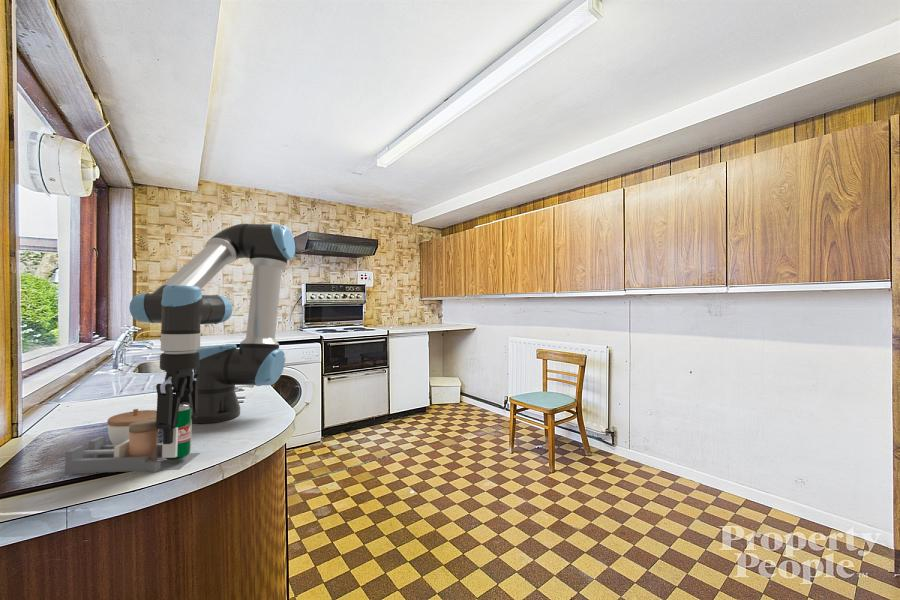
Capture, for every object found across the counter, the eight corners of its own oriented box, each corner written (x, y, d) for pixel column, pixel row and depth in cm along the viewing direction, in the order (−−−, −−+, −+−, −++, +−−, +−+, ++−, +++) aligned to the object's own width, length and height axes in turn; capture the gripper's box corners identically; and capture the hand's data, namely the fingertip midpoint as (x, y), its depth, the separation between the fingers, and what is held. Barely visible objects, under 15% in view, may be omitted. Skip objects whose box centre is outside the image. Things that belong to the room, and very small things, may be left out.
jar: (137, 457, 89) (139, 419, 90) (163, 457, 90) (164, 419, 90) (121, 467, 84) (123, 426, 84) (148, 466, 85) (150, 426, 85)
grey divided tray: (102, 455, 91) (103, 434, 91) (203, 452, 94) (203, 432, 94) (60, 477, 80) (61, 453, 80) (176, 473, 83) (177, 450, 83)
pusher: (85, 457, 88) (85, 438, 88) (137, 455, 90) (138, 436, 90) (61, 468, 82) (62, 448, 82) (118, 466, 84) (119, 446, 84)
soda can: (176, 461, 85) (178, 408, 85) (157, 459, 86) (159, 406, 86) (195, 453, 90) (197, 402, 90) (177, 451, 91) (179, 401, 91)
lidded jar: (157, 435, 105) (158, 401, 105) (163, 446, 98) (165, 410, 98) (105, 445, 98) (106, 408, 98) (107, 457, 90) (109, 418, 90)
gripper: (184, 347, 97) (181, 438, 97) (136, 357, 79) (132, 469, 79) (215, 347, 98) (212, 437, 98) (175, 357, 80) (172, 468, 80)
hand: (177, 451), depth 88 cm, fingers open, 5 cm apart
